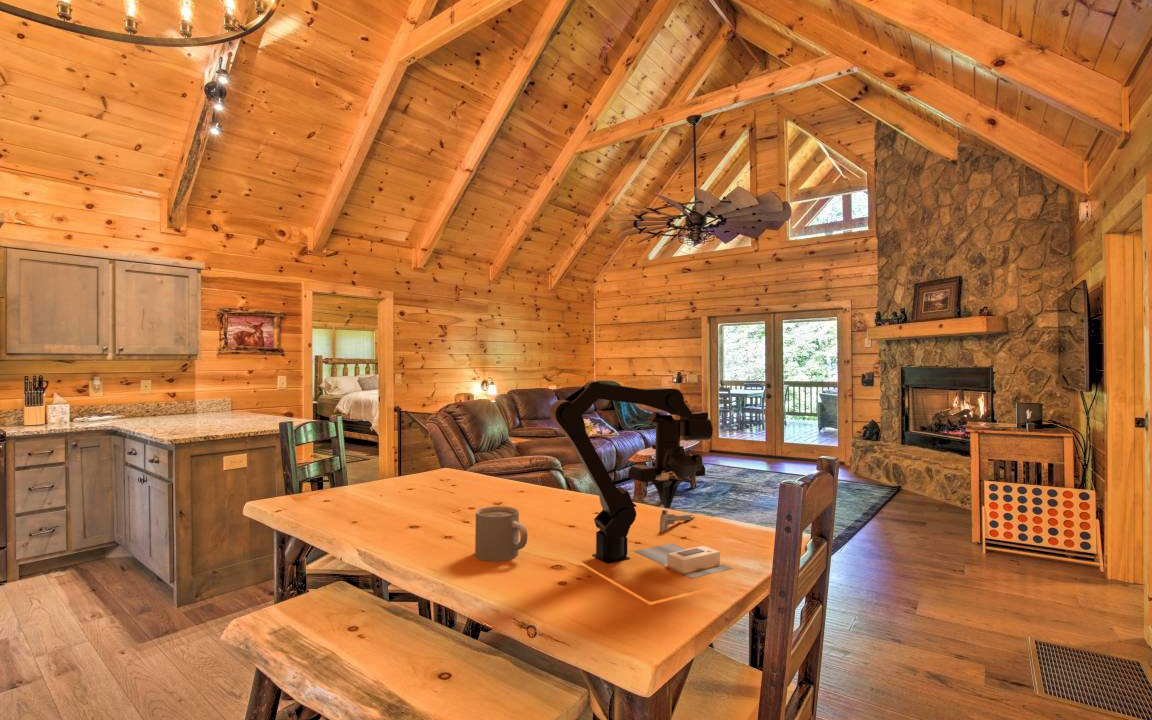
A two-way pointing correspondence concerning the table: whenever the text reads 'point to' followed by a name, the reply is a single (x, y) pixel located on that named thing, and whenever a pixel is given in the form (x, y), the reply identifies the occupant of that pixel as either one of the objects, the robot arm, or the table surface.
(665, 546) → the subfloor panel
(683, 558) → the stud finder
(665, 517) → the caliper
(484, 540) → the coffee mug
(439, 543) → the table surface
